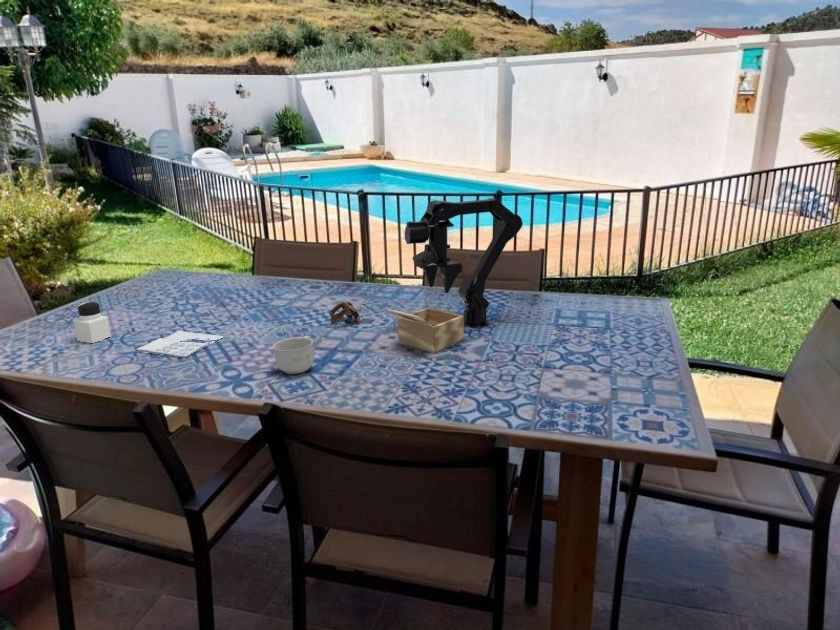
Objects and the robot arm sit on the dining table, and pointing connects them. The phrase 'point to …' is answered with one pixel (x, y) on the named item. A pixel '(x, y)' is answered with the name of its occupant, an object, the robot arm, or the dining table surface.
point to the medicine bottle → (91, 323)
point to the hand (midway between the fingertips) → (438, 289)
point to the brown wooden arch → (344, 312)
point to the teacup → (294, 354)
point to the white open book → (179, 344)
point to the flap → (409, 317)
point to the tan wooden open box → (431, 330)
